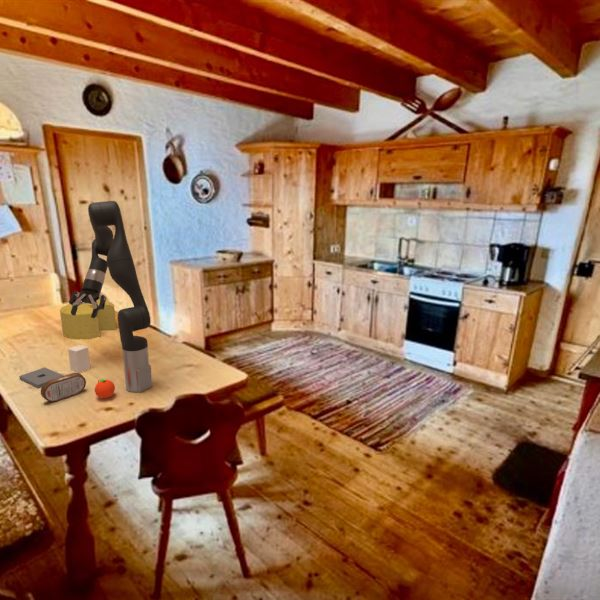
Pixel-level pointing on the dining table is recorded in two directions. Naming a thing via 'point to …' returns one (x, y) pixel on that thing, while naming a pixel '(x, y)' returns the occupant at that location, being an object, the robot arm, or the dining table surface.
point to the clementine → (104, 388)
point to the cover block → (79, 358)
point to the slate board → (39, 377)
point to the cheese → (87, 321)
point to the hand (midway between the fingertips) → (83, 316)
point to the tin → (63, 387)
